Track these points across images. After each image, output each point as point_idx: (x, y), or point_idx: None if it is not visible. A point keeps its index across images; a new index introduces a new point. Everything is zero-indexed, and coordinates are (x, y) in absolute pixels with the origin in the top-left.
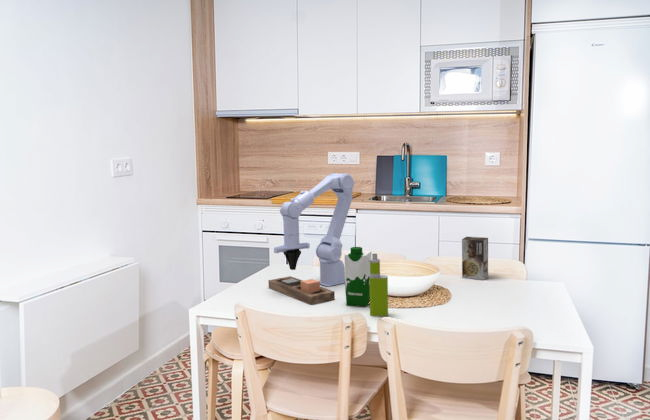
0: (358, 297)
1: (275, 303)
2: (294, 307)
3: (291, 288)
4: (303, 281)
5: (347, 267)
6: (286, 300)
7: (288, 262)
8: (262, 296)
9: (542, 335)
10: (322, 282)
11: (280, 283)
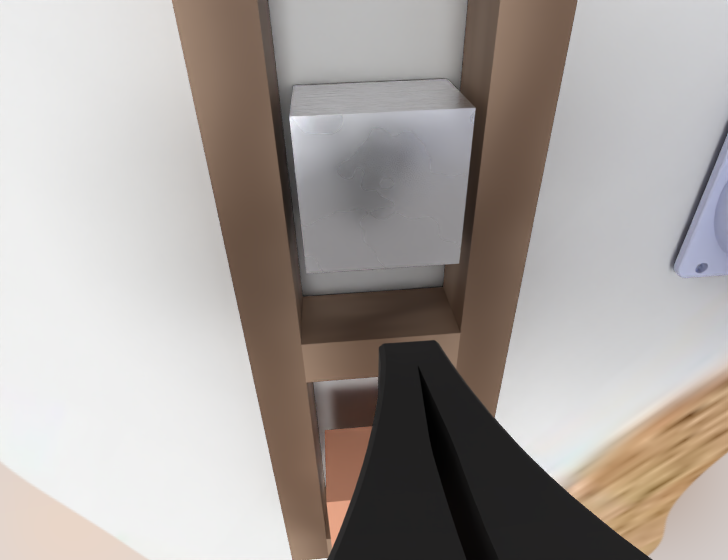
0: None
1: (94, 412)
2: (189, 504)
3: (269, 390)
4: (344, 514)
5: None
6: (195, 394)
7: (373, 434)
8: (13, 204)
9: None
10: (726, 204)
11: (248, 178)
